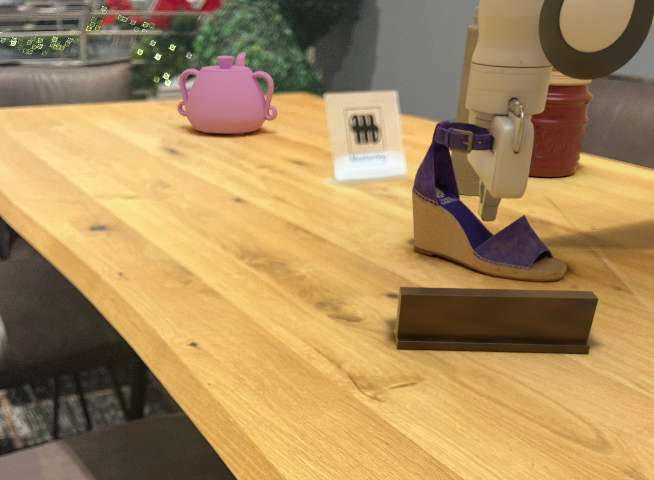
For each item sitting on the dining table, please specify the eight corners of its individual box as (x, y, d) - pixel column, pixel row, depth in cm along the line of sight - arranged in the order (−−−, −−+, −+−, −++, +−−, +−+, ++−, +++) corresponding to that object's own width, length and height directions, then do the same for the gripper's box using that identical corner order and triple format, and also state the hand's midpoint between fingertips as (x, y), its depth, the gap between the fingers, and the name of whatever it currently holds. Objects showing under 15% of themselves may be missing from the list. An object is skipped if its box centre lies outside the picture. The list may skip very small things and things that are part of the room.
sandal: (540, 291, 85) (571, 146, 76) (397, 251, 96) (409, 121, 88) (574, 273, 90) (606, 135, 81) (433, 238, 101) (448, 112, 92)
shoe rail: (577, 336, 75) (589, 287, 72) (588, 354, 72) (602, 302, 69) (393, 332, 76) (398, 282, 73) (397, 349, 72) (402, 298, 69)
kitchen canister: (534, 158, 142) (555, 49, 131) (592, 172, 133) (619, 56, 123) (485, 167, 136) (502, 52, 126) (542, 182, 127) (565, 60, 117)
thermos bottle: (446, 182, 126) (473, -23, 110) (496, 184, 125) (529, -22, 109) (446, 194, 120) (474, -21, 104) (498, 196, 119) (535, -21, 103)
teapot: (290, 122, 171) (291, 51, 163) (267, 140, 154) (267, 62, 146) (197, 117, 175) (194, 48, 167) (164, 135, 158) (159, 58, 150)
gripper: (557, 108, 78) (529, 244, 86) (517, 81, 94) (497, 198, 102) (494, 106, 78) (473, 243, 86) (465, 80, 94) (450, 196, 102)
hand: (486, 218), depth 94 cm, fingers closed
